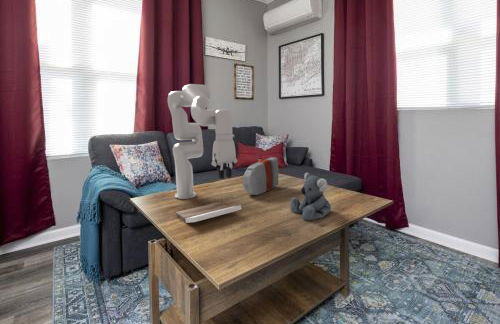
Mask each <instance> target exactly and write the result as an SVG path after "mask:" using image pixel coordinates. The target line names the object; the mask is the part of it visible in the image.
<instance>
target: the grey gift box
mask: <svg viewBox="0 0 500 324" xmlns="http://www.w3.org/2000/svg"><path fill="white" fill-rule="evenodd" d="M278 159H279V158H277V157H272V156H271V157H268V158H266V159H262V160H259V161H258V162H255V163H253V164H250V165H249V166H248V167H247V169H245V172H244V174H243V177H242V178H243V180H242V184H243V188H244V192H246V193H247V194H249V195H253V196H258V195H262V194H263V193H265V192H266V193H267V192H270V191H271V190H272V188H275V187H277V186H278V185H279V162H278V161H279V160H278Z"/></svg>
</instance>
